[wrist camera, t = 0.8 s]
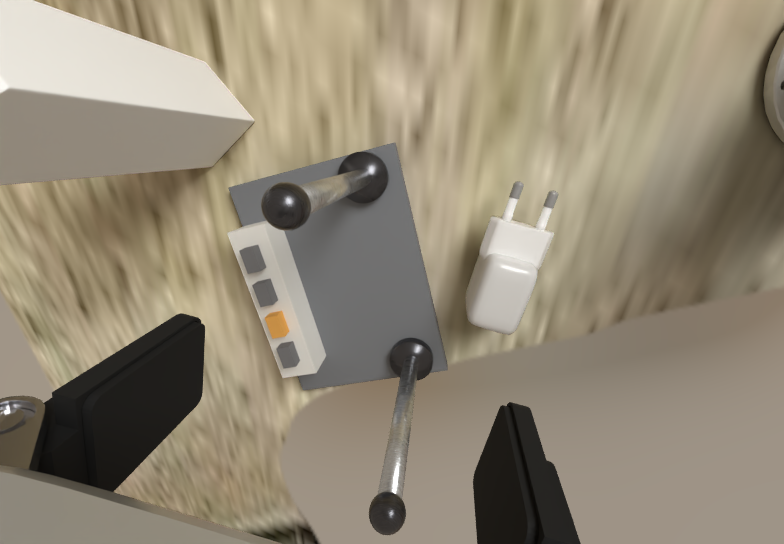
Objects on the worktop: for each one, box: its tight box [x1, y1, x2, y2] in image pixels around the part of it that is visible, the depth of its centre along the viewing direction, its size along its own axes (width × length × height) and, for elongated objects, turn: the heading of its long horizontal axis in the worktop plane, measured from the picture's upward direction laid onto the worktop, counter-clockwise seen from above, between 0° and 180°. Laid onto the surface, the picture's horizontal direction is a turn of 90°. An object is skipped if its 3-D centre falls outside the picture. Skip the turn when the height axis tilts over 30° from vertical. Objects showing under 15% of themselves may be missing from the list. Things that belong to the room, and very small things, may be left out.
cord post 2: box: [369, 338, 433, 535], centre depth 27 cm, size 4×4×17 cm
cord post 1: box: [261, 152, 389, 231], centre depth 22 cm, size 4×4×17 cm
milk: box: [0, 0, 254, 185], centre depth 21 cm, size 6×6×22 cm
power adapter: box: [465, 181, 558, 335], centre depth 29 cm, size 11×5×6 cm, turn 166°
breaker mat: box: [227, 143, 448, 390], centre depth 32 cm, size 15×21×5 cm
